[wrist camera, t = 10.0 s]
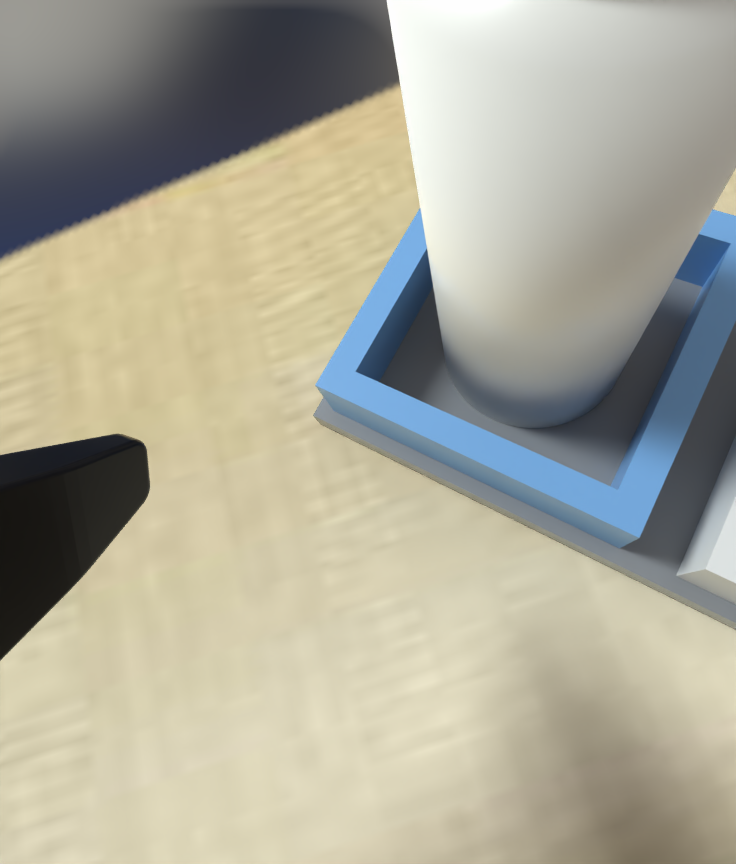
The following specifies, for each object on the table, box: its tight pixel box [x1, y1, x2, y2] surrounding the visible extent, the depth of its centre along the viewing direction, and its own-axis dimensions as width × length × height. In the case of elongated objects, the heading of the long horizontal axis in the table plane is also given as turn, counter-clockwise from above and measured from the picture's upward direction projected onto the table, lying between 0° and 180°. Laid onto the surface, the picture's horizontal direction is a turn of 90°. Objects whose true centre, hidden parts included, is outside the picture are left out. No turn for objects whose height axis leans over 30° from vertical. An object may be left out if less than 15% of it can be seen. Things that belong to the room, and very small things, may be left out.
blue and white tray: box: [313, 208, 736, 629], centre depth 15 cm, size 20×9×3 cm, turn 61°
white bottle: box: [387, 0, 736, 428], centre depth 10 cm, size 5×5×13 cm
